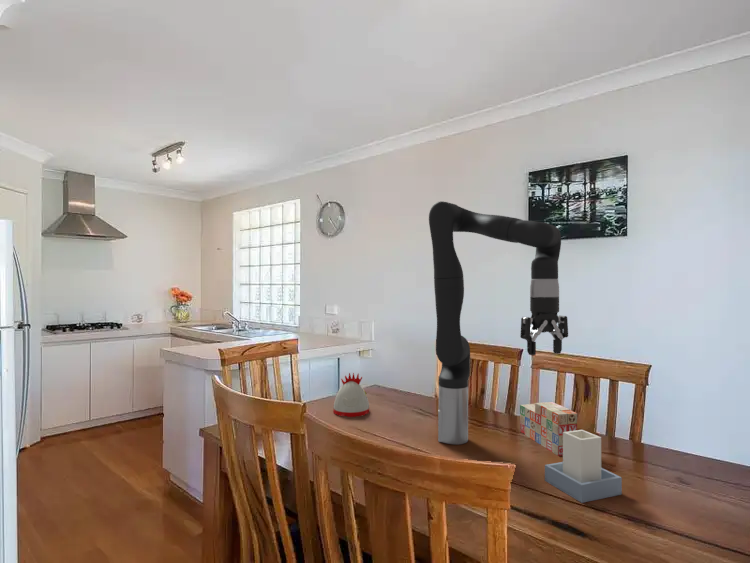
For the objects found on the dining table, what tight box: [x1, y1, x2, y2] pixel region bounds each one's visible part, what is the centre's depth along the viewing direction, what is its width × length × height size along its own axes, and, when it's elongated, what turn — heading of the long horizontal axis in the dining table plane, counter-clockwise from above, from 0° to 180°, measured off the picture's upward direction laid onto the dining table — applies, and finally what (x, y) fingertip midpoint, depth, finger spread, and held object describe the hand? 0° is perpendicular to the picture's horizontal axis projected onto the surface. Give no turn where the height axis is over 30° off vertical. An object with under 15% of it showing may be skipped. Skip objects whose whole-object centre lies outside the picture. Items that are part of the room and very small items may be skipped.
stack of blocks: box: [519, 401, 578, 457], centre depth 140 cm, size 21×6×12 cm, turn 12°
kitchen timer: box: [332, 372, 370, 418], centre depth 173 cm, size 14×14×15 cm
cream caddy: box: [562, 429, 602, 483], centre depth 109 cm, size 6×6×12 cm
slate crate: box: [544, 461, 623, 503], centre depth 109 cm, size 12×12×4 cm
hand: (544, 354), depth 124 cm, fingers open, 8 cm apart
